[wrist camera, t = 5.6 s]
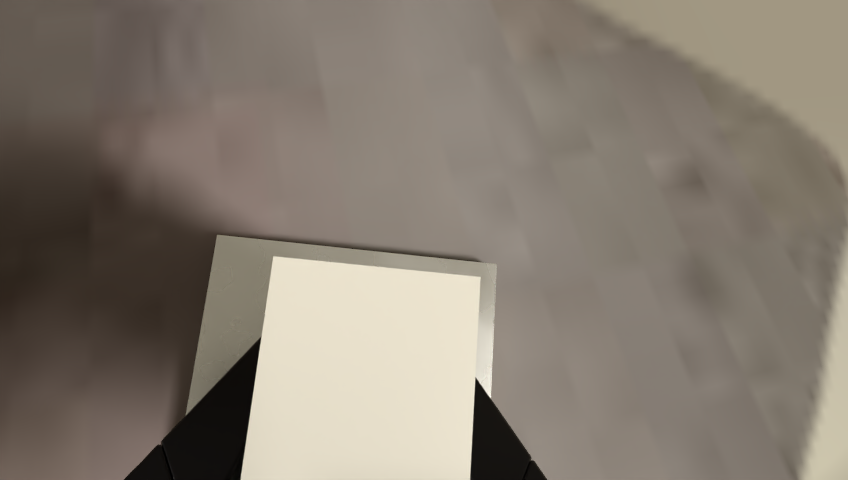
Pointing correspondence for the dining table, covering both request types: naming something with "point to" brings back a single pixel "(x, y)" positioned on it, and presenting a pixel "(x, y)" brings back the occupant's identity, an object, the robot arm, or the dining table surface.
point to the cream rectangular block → (364, 374)
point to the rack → (248, 289)
